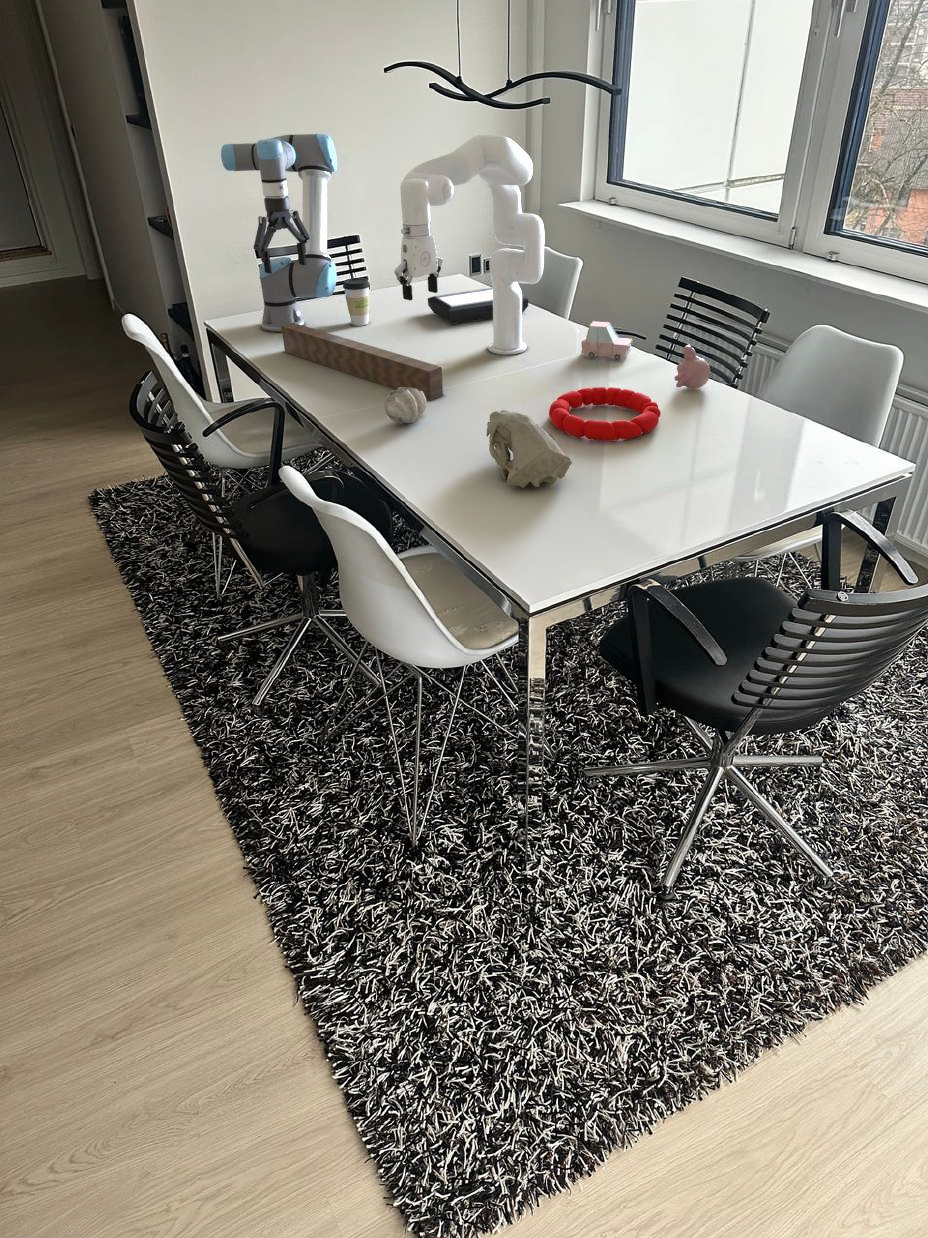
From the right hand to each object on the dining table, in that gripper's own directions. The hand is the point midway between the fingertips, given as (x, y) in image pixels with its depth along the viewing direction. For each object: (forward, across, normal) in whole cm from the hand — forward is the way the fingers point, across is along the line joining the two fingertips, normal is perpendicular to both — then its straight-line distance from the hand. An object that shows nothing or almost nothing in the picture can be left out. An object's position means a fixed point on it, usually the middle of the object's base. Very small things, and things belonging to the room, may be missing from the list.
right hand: (420, 295), depth 248 cm
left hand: (+2, 0, +63) cm, 63 cm away
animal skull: (+29, -21, -55) cm, 66 cm away
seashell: (+29, -18, -11) cm, 36 cm away
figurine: (+29, +54, -57) cm, 83 cm away
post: (+29, 0, +31) cm, 42 cm away
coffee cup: (+29, +36, +72) cm, 85 cm away
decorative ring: (+29, +17, -53) cm, 62 cm away
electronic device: (+29, +72, +46) cm, 90 cm away
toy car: (+29, +62, -20) cm, 71 cm away
